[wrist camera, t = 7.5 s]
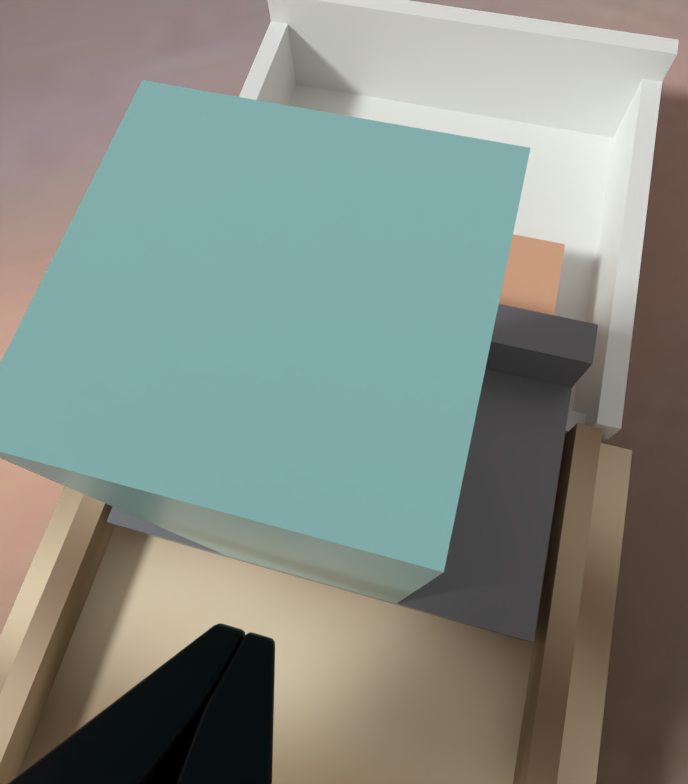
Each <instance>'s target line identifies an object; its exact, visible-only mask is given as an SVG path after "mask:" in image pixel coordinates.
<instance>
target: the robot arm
mask: <svg viewBox="0 0 688 784" xmlns="http://www.w3.org/2000/svg"><path fill="white" fill-rule="evenodd" d="M274 678H275V641H274V640H273V639H272V638H270V637H266V636H263V635H259V634H256V633H253V632H249V633H247V634H245V632H244V631H243V630H242V629H239V628H236V627H233V626H229V625H226V624H221V623H219V624H216V625H214V626H212V627H211V628H210V629H209V630H207V631H206V632H205V633H203V634H202V635H201V636H199V637H198V638H197V639H195V640H194V641H193V642H192V643H190V644H189V645H188V646H186V647H185V648H184V649H182V650H181V651H180V652H179V653H177V654H176V655H175V656H173V657H172V658H171V659H169V660H168V661H167V662H165V663H164V664H163V665H162V666H160V667H159V668H158V669H156V670H155V671H154V672H152V673H151V674H150V675H148V676H147V677H146V678H145V679H143V680H142V681H141V682H139V683H138V684H137V685H135V686H134V687H133V688H132V689H130V690H129V691H128V692H126V693H125V694H124V695H122V696H121V697H120V698H118V699H117V700H116V701H115V702H113V703H112V704H111V705H109V706H108V707H107V708H105V709H104V710H103V711H101V712H100V713H99V714H98V715H96V716H95V717H94V718H92V719H91V720H90V721H88V722H87V723H86V724H85V725H83V726H82V727H81V728H79V729H78V730H77V731H75V732H74V733H73V734H71V735H70V736H69V737H68V738H66V739H65V740H64V741H62V742H61V743H60V744H58V745H57V746H56V747H54V748H53V749H52V750H51V751H49V752H48V753H47V754H45V755H44V756H43V757H41V758H40V759H39V760H38V761H36V762H35V763H34V764H32V765H31V766H30V767H28V768H27V769H26V770H24V771H23V772H22V773H21V774H19V775H18V776H17V777H15V778H14V779H13V780H11V781H10V782H9V783H7V784H272V765H273V721H274Z"/></svg>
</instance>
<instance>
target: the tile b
mask: <svg viewBox="0 0 688 784" xmlns="http://www.w3.org/2000/svg"><path fill="white" fill-rule="evenodd" d="M564 247H565V244H561V243H556V242H551V241H545V240H540V239H535V238H530V237H525V236H520V235H514V234H513V236H512V241H511V246H510V251H509V256H508V261H507V266H506V271H505V275H504V280H503V285H502V290H501V295H500V300H499V304H502V305H507V306H512V307H517V308H521V309H526V310H531V311H536V312H540V313H545V314H550V315H554V313H555V307H556V300H557V294H558V287H559V280H560V274H561V267H562V261H563V254H564Z"/></svg>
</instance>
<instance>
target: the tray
mask: <svg viewBox="0 0 688 784" xmlns="http://www.w3.org/2000/svg"><path fill="white" fill-rule="evenodd" d="M268 6H269V12H270V18H271V23H270V25H269V27H268V30H267V32H266V34H265V37H264V39H263V41H262V44H261V46H260V49H259V51H258V53H257V56H256V58H255V60H254V63H253V65H252V67H251V70H250V72H249V74H248V77H247V79H246V81H245V84H244V86H243V89H242V91H241V93H240V96H239V97H242V98H248V99H253V100H259V101H265V102H271V103H276V104H282V105H288V106H294V107H299V108H305V109H311V110H316V111H322V112H328V113H334V114H339V115H345V116H351V117H357V118H362V119H368V120H374V121H380V122H385V123H391V124H397V125H403V126H408V127H414V128H420V129H426V130H431V131H437V132H443V133H449V134H454V135H460V136H466V137H472V138H477V139H483V140H489V141H495V142H500V143H506V144H512V145H518V146H523V147H529V148H530V153H529V158H528V163H527V168H526V173H525V178H524V183H523V188H522V192H521V197H520V202H519V207H518V212H517V217H516V222H515V227H514V231H513V234H514V235H520V236H525V237H530V238H535V239H540V240H545V241H551V242H556V243H561V244H565V247H564V254H563V261H562V267H561V274H560V280H559V287H558V294H557V300H556V307H555V313H554V315H555V316H560V317H564V318H569V319H574V320H579V321H583V322H588V323H593V324H598V328H597V336H596V343H595V350H594V357H593V364H592V365H591V366H590V367H589V368H588V370H587V371H586V372H585V373H584V374H583V375H582V377H581V378H580V379H579V380H578V381H577V382H576V383H575V385H574V386H573V387H572V390H571V397H570V403H569V410H568V417H567V423H566V430H565V434H566V433H567V432H568V431H569V430H570V429H571V428H572V427H574V426H575V425H576V424H577V423H580V424H585V425H589V426H593V427H598V428H602V436H601V443H604V442H605V441H606V440H608V439H609V438H610V437H612V436H613V435H614V434H615V433H617V432H618V431H619V430H621V427H622V418H623V410H624V401H625V393H626V384H627V376H628V367H629V359H630V350H631V342H632V333H633V325H634V316H635V308H636V299H637V291H638V282H639V274H640V265H641V257H642V248H643V240H644V231H645V223H646V214H647V206H648V197H649V189H650V180H651V172H652V163H653V155H654V146H655V138H656V129H657V121H658V112H659V104H660V95H661V87H662V81H663V79H664V77H665V75H666V74H667V72H668V70H669V68H670V66H671V64H672V62H673V61H674V59H675V57H676V55H677V50H678V40H676V39H670V38H663V37H656V36H649V35H642V34H635V33H628V32H622V31H615V30H608V29H601V28H594V27H587V26H580V25H574V24H567V23H560V22H553V21H546V20H539V19H532V18H526V17H519V16H512V15H505V14H498V13H491V12H484V11H477V10H471V9H464V8H457V7H450V6H443V5H436V4H429V3H423V2H416V1H409V0H268Z"/></svg>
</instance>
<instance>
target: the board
mask: <svg viewBox="0 0 688 784" xmlns="http://www.w3.org/2000/svg"><path fill="white" fill-rule="evenodd" d="M601 436H602V428H598V427H593V426H589V425H585V424H580V423H577V424H576V425H575V426H574V427H572V428H571V429H570V430H569V431H568V432H567V433H566V434H565V437H564V443H563V450H562V457H561V463H560V470H559V477H558V483H557V490H556V497H555V503H554V510H553V517H552V523H551V530H550V537H549V543H548V550H547V556H546V563H545V570H544V576H543V583H542V590H541V596H540V603H539V610H538V616H537V623H536V630H535V636H534V642H529V641H523V640H519V639H516V638H512V637H508V636H505V635H501V634H498V633H494V632H491V631H487V630H484V629H480V628H477V627H473V626H469V625H466V624H462V623H459V622H455V621H452V620H448V619H445V618H441V617H438V616H434V615H430V614H427V613H423V612H420V611H416V610H413V609H409V608H406V607H402V606H398V605H395V604H391V603H388V602H384V601H381V600H377V599H374V598H370V597H367V596H363V595H359V594H356V593H352V592H349V591H345V590H342V589H338V588H335V587H331V586H328V585H324V584H320V583H317V582H313V581H310V580H306V579H303V578H299V577H296V576H292V575H289V574H285V573H281V572H278V571H274V570H271V569H267V568H264V567H260V566H257V565H253V564H250V563H246V562H242V561H239V560H235V559H232V558H228V557H225V556H221V555H218V554H214V553H211V552H207V551H203V550H200V549H196V548H193V547H189V546H186V545H182V544H179V543H175V542H172V541H168V540H164V539H161V538H157V537H154V536H150V535H147V534H143V533H140V532H136V531H132V530H129V529H125V528H122V527H119V526H117V525H114V524H111V523H108V522H107V519H108V517H109V514H110V512H111V509H112V507H113V506H110V505H108V504H106V503H103V502H101V501H99V500H96V499H94V498H92V497H89V496H87V495H85V494H83V493H80V492H78V491H76V490H73V489H71V488H69V487H66V486H65V487H64V489H63V491H62V494H61V496H60V498H59V501H58V503H57V505H56V508H55V510H54V512H53V515H52V517H51V519H50V522H49V524H48V526H47V529H46V531H45V533H44V536H43V538H42V540H41V543H40V545H39V547H38V550H37V552H36V554H35V557H34V559H33V561H32V564H31V566H30V568H29V571H28V573H27V575H26V578H25V580H24V582H23V585H22V587H21V589H20V592H19V594H18V596H17V598H16V601H15V603H14V605H13V608H12V610H11V612H10V615H9V617H8V619H7V622H6V624H5V626H4V629H3V631H2V633H1V636H0V784H7V783H9V782H10V781H11V780H13V779H14V778H15V777H17V776H18V775H19V774H21V773H22V772H23V771H24V770H26V769H27V768H28V767H30V766H31V765H32V764H34V763H35V762H36V761H38V760H39V759H40V758H41V757H43V756H44V755H45V754H47V753H48V752H49V751H51V750H52V749H53V748H54V747H56V746H57V745H58V744H60V743H61V742H62V741H64V740H65V739H66V738H68V737H69V736H70V735H71V734H73V733H74V732H75V731H77V730H78V729H79V728H81V727H82V726H83V725H85V724H86V723H87V722H88V721H90V720H91V719H92V718H94V717H95V716H96V715H98V714H99V713H100V712H101V711H103V710H104V709H105V708H107V707H108V706H109V705H111V704H112V703H113V702H115V701H116V700H117V699H118V698H120V697H121V696H122V695H124V694H125V693H126V692H128V691H129V690H130V689H132V688H133V687H134V686H135V685H137V684H138V683H139V682H141V681H142V680H143V679H145V678H146V677H147V676H148V675H150V674H151V673H152V672H154V671H155V670H156V669H158V668H159V667H160V666H162V665H163V664H164V663H165V662H167V661H168V660H169V659H171V658H172V657H173V656H175V655H176V654H177V653H179V652H180V651H181V650H182V649H184V648H185V647H186V646H188V645H189V644H190V643H192V642H193V641H194V640H195V639H197V638H198V637H199V636H201V635H202V634H203V633H205V632H206V631H207V630H209V629H210V628H211V627H212V626H214V625H216V624H219V623H221V624H226V625H229V626H233V627H236V628H239V629H242V630H243V631H244V632H245V634H247V633H249V632H253V633H256V634H259V635H263V636H266V637H270V638H272V639H273V640H274V641H275V678H274V721H273V765H272V784H596V778H597V769H598V760H599V751H600V741H601V732H602V723H603V714H604V705H605V696H606V687H607V678H608V668H609V659H610V650H611V641H612V632H613V623H614V614H615V605H616V596H617V586H618V577H619V568H620V559H621V550H622V541H623V532H624V523H625V514H626V504H627V495H628V486H629V477H630V468H631V459H632V450H629V449H625V448H621V447H616V446H612V445H608V444H604V443H601Z"/></svg>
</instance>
